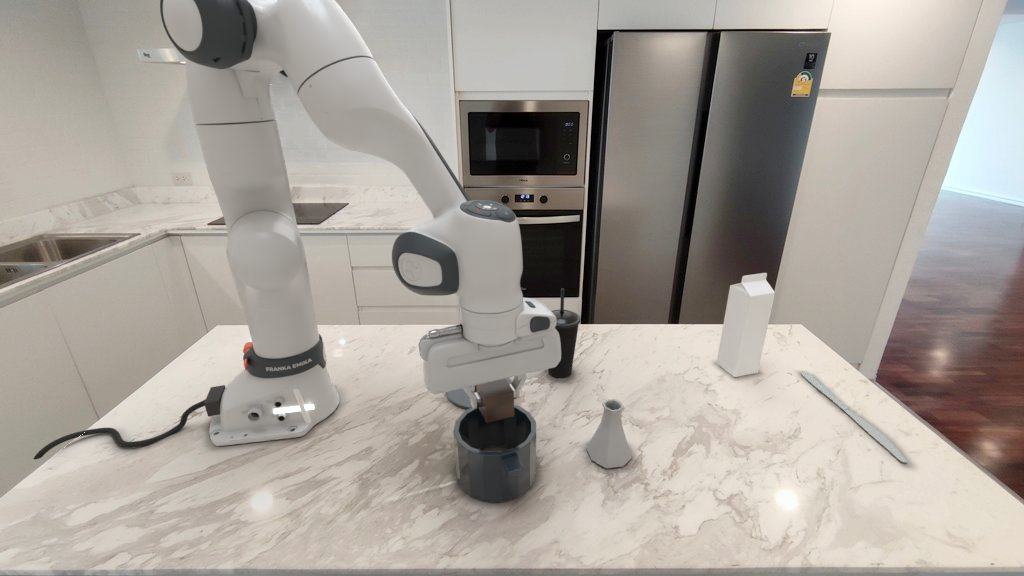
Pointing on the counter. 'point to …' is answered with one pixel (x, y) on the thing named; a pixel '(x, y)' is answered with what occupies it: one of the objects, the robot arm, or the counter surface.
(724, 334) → the milk
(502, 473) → the pot
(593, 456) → the flask
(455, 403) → the lid
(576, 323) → the drinking cup
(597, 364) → the counter surface
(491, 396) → the block
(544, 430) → the counter surface
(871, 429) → the butter knife
